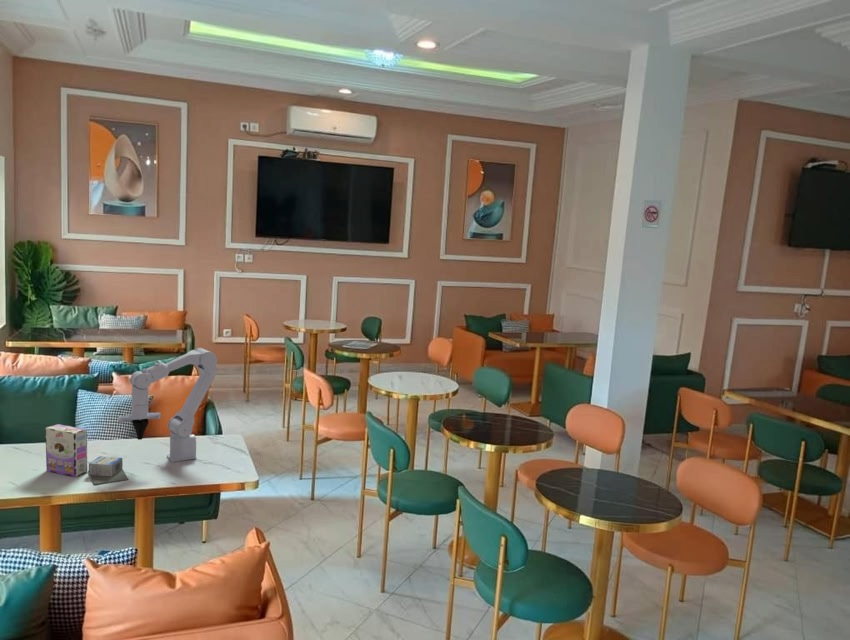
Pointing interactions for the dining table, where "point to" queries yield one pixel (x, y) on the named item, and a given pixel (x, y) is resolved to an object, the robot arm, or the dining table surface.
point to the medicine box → (105, 466)
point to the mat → (109, 478)
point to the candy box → (66, 450)
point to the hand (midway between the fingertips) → (139, 438)
